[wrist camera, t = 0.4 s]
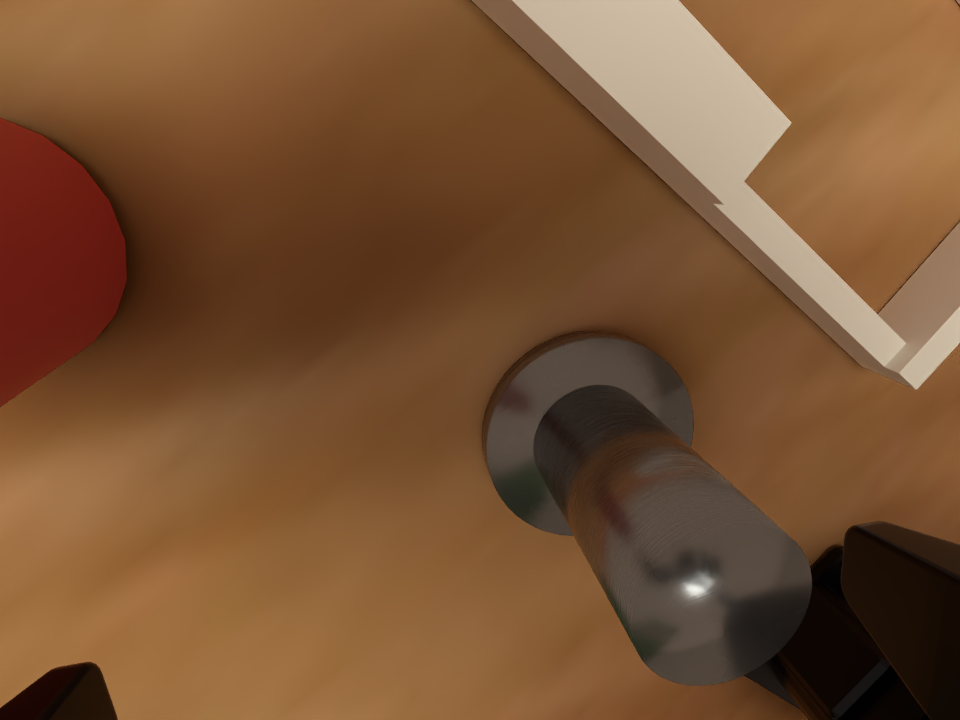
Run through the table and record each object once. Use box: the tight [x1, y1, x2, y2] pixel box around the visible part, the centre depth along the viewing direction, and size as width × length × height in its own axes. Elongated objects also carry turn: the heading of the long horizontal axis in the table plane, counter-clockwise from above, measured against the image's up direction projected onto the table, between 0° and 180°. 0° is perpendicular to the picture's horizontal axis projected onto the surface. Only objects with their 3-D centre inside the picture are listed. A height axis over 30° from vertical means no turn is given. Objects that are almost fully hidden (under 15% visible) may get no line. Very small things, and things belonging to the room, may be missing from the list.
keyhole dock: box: [471, 0, 960, 390], centre depth 17 cm, size 22×11×2 cm, turn 52°
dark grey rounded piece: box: [482, 331, 812, 686], centre depth 17 cm, size 7×7×9 cm
